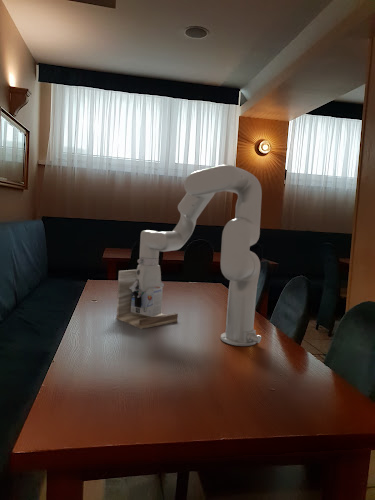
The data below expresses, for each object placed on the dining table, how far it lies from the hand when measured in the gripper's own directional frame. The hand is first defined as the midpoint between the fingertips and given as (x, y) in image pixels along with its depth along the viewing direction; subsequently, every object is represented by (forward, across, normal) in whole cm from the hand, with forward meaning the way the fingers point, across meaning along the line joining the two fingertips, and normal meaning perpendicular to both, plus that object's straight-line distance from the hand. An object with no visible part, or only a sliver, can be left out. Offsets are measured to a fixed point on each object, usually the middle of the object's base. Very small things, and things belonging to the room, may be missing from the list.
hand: (146, 305), depth 152 cm
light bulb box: (+3, 0, 0) cm, 3 cm away
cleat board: (+6, 0, -1) cm, 6 cm away
